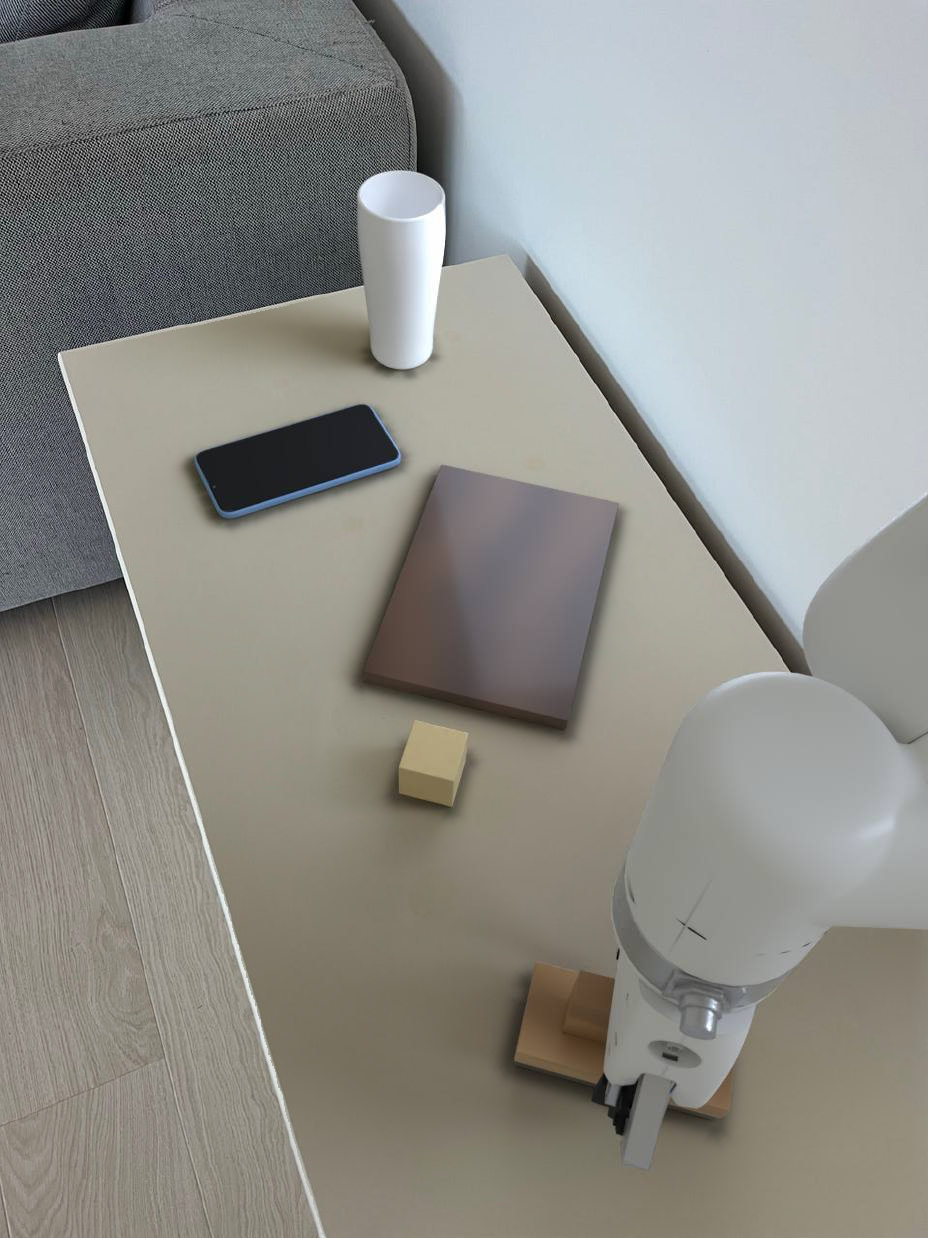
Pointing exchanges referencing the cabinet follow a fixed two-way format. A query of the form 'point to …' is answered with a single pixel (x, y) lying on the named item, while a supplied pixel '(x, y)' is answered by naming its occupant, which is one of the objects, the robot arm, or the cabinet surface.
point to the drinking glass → (401, 263)
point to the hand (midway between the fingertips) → (634, 1031)
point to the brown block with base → (581, 1032)
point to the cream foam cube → (433, 763)
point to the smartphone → (296, 460)
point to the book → (496, 597)
